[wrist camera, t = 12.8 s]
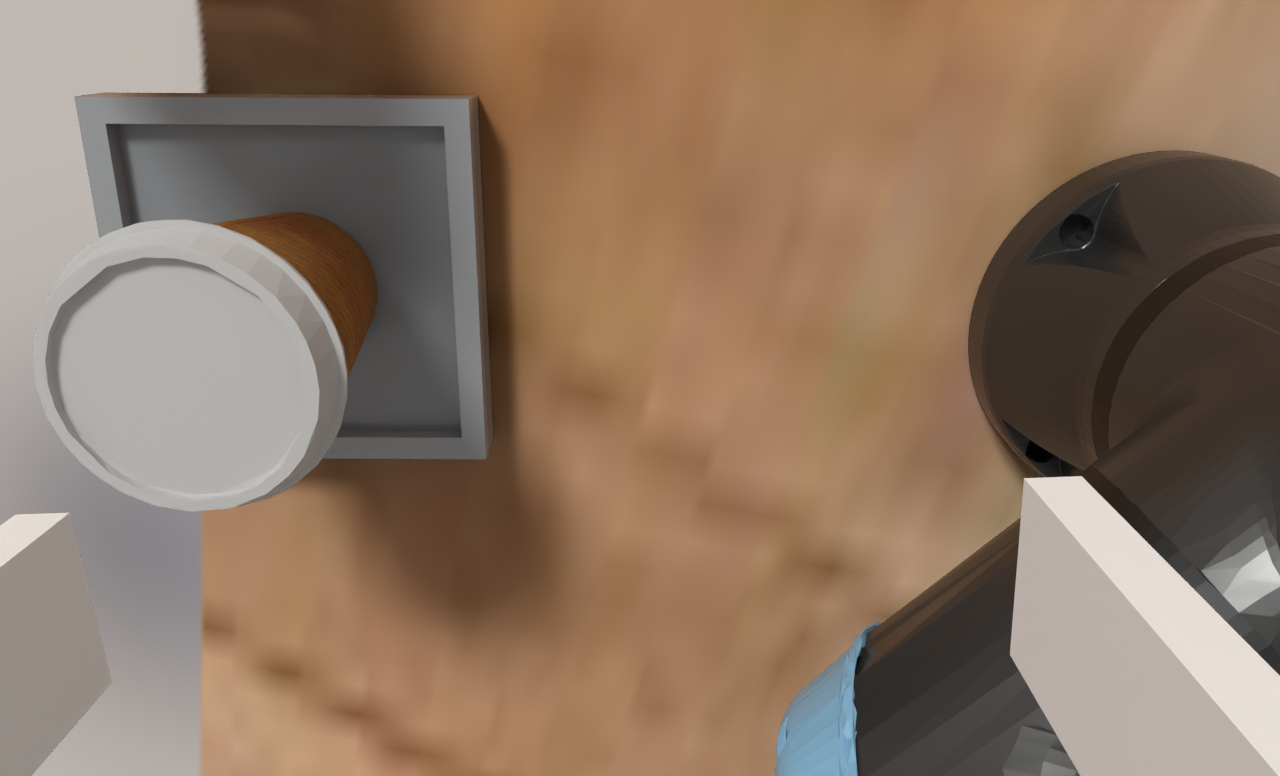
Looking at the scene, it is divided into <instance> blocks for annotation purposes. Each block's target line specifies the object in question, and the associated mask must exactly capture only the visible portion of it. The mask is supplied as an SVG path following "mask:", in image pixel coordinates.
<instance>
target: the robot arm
mask: <svg viewBox="0 0 1280 776" xmlns="http://www.w3.org/2000/svg"><path fill="white" fill-rule="evenodd" d="M968 354H969V365H970V372H971V377H972V381H973V385H974V388H975V391H976V394H977V397H978V400H979V402H980V404H981V407H982V409H983V411H984V412H985V414H986V416H987V418H988V419H989V421H990V423H991V424H992V426H993V427H994V428H995V430H996V431H997V432H998V433H999V435H1000V436H1001V437H1002V438H1003V439H1004V440H1005V442H1006V443H1007V444H1008V445H1009V446H1010V447H1011V448H1012V449H1013V451H1014V452H1015V453H1016V454H1017V455H1018V456H1019V457H1020V458H1021V459H1022V460H1023V461H1024V462H1025V463H1026V464H1027V465H1028V466H1030V467H1031V468H1032V469H1033V470H1035V471H1036V472H1037V473H1038V474H1040V475H1041V476H1043V477H1044V478H1024V486H1023V498H1022V510H1021V518H1019V519H1018V520H1017V521H1016V522H1014V523H1013V524H1012V525H1010V526H1009V527H1008V528H1006V529H1005V530H1004V531H1002V532H1001V533H1000V534H998V535H997V536H996V537H995V538H993V539H992V540H991V541H989V542H988V543H987V544H985V545H984V546H983V547H981V548H980V549H979V550H978V551H976V552H975V553H974V554H972V555H971V556H970V557H968V558H967V559H966V560H964V561H963V562H962V563H961V564H959V565H958V566H957V567H955V568H954V569H953V570H951V571H950V572H949V573H947V574H946V575H945V576H944V577H942V578H941V579H940V580H938V581H937V582H936V583H934V584H933V585H932V586H930V587H929V588H928V589H926V590H925V591H924V592H923V593H921V594H920V595H919V596H917V597H916V598H915V599H913V600H912V601H911V602H909V603H908V604H907V605H906V606H904V607H903V608H902V609H900V610H899V611H898V612H896V613H895V614H894V615H892V616H891V617H890V618H888V619H887V620H886V621H884V622H883V623H879V622H875V623H874V624H872V625H870V626H868V627H867V628H865V629H864V630H863V631H862V632H861V633H860V634H858V635H857V637H856V639H855V640H854V642H853V644H852V645H851V647H850V649H848V650H847V651H846V652H845V653H844V654H843V655H842V656H840V657H839V658H838V659H837V660H836V661H835V662H834V663H832V664H831V665H830V666H829V667H828V668H827V669H825V670H824V671H823V672H822V673H821V674H820V675H819V676H817V677H816V678H815V679H814V680H813V681H812V682H811V683H809V684H808V685H807V686H806V687H805V688H803V689H802V690H801V691H800V692H799V693H798V694H797V696H796V697H795V698H794V699H793V701H792V702H791V703H790V705H789V707H788V708H787V710H786V712H785V714H784V717H783V719H782V722H781V725H780V729H779V734H778V740H777V745H776V753H777V762H776V767H775V776H1280V177H1278V176H1276V175H1274V174H1272V173H1270V172H1268V171H1266V170H1264V169H1262V168H1259V167H1256V166H1254V165H1251V164H1248V163H1244V162H1241V161H1237V160H1232V159H1228V158H1224V157H1219V156H1215V155H1210V154H1205V153H1200V152H1192V151H1176V150H1174V151H1156V152H1147V153H1141V154H1136V155H1131V156H1127V157H1123V158H1120V159H1117V160H1114V161H1110V162H1107V163H1105V164H1102V165H1100V166H1097V167H1095V168H1093V169H1090V170H1088V171H1086V172H1084V173H1082V174H1080V175H1078V176H1077V177H1075V178H1073V179H1071V180H1070V181H1068V182H1066V183H1065V184H1063V185H1062V186H1060V187H1059V188H1057V189H1056V190H1054V191H1053V192H1052V193H1050V194H1049V195H1048V196H1046V197H1045V198H1044V199H1043V200H1041V201H1040V202H1039V203H1038V204H1037V205H1036V206H1035V207H1033V208H1032V209H1031V210H1030V211H1029V212H1028V213H1027V214H1026V215H1025V216H1024V217H1023V218H1022V219H1021V220H1020V222H1019V223H1018V224H1017V225H1016V226H1015V227H1014V228H1013V230H1012V231H1011V232H1010V234H1009V235H1008V236H1007V237H1006V239H1005V240H1004V241H1003V243H1002V244H1001V246H1000V247H999V249H998V250H997V252H996V254H995V255H994V257H993V259H992V261H991V262H990V264H989V266H988V268H987V270H986V272H985V274H984V276H983V279H982V281H981V284H980V286H979V289H978V292H977V295H976V298H975V301H974V306H973V310H972V314H971V320H970V326H969V338H968ZM111 682H112V680H111V676H110V672H109V668H108V664H107V660H106V656H105V652H104V648H103V644H102V640H101V636H100V632H99V628H98V624H97V620H96V616H95V612H94V608H93V604H92V600H91V596H90V592H89V588H88V584H87V580H86V576H85V572H84V569H83V564H82V560H81V556H80V553H79V549H78V544H77V540H76V536H75V532H74V529H73V525H72V521H71V517H70V513H51V514H23V515H15V516H13V517H12V518H10V519H9V520H8V521H6V522H5V523H4V524H2V525H1V526H0V776H32V774H33V773H34V772H35V771H36V770H37V769H38V767H39V766H40V765H41V764H42V763H43V762H44V761H45V759H46V758H47V757H48V756H49V755H50V753H51V752H52V751H53V750H54V749H55V748H56V747H57V745H58V744H59V743H60V742H61V741H62V740H63V739H64V737H65V736H66V735H67V734H68V733H69V732H70V730H71V729H72V728H73V727H74V726H75V725H76V723H77V722H78V721H79V720H80V719H81V718H82V716H83V715H84V714H85V713H86V712H87V711H88V710H89V708H90V707H91V706H92V705H93V704H94V703H95V701H96V700H97V699H98V698H99V697H100V696H101V694H102V693H103V692H104V691H105V690H106V689H107V688H108V686H109V685H110V684H111Z"/></svg>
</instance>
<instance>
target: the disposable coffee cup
mask: <svg viewBox="0 0 1280 776" xmlns="http://www.w3.org/2000/svg"><path fill="white" fill-rule="evenodd" d="M377 296H378V287H377V282H376V277H375V272H374V270H373V268H372V265H371V263H370V260H369V258H368V257H367V255H366V253H365V252H364V250H363V249H362V247H361V246H360V245H359V243H358V242H357V241H356V240H355V239H354V238H353V237H352V236H351V235H350V234H349V233H348V232H346V231H345V230H343V229H342V228H340V227H339V226H338V225H336V224H335V223H333V222H331V221H329V220H327V219H325V218H323V217H320V216H316V215H313V214H309V213H300V212H283V213H276V214H271V215H265V216H258V217H252V218H246V219H238V220H232V221H225V222H219V223H212V224H208V223H203V222H197V221H192V220H186V219H183V220H158V221H147V222H141V223H136V224H133V225H130V226H127V227H124V228H122V229H119V230H116V231H113V232H110V233H108V234H106V235H105V236H103V237H101V238H99V239H98V240H96V241H94V242H92V243H91V244H89V245H88V246H87V247H86V248H85V249H84V250H82V251H81V252H80V253H79V254H78V255H76V256H75V257H74V258H73V259H72V260H71V261H70V262H69V264H68V265H67V266H66V267H65V269H64V270H63V272H62V273H61V274H60V275H59V277H58V278H57V280H56V282H55V284H54V286H53V288H52V290H51V291H50V294H49V295H48V299H47V302H46V305H45V308H44V311H43V313H42V316H41V318H40V321H39V323H38V326H37V329H36V336H35V343H34V369H33V370H34V376H35V381H36V386H37V391H38V394H39V397H40V400H41V402H42V405H43V408H44V411H45V413H46V416H47V418H48V420H49V421H50V423H51V424H52V426H53V427H54V429H55V431H56V432H57V433H58V435H59V437H60V438H61V440H62V441H63V443H64V444H65V446H66V447H67V448H68V449H69V450H70V451H71V452H72V453H73V455H74V456H75V457H76V458H77V459H78V460H79V461H80V462H81V463H82V464H83V465H84V466H85V467H86V468H88V469H89V470H90V471H91V472H92V473H93V474H95V475H96V476H97V477H99V478H100V479H102V480H103V481H105V482H106V483H108V484H110V485H111V486H113V487H114V488H116V489H117V490H119V491H121V492H122V493H124V494H127V495H130V496H132V497H135V498H137V499H140V500H142V501H145V502H147V503H150V504H152V505H155V506H161V507H167V508H173V509H179V510H185V511H191V512H194V511H205V510H216V509H227V508H233V507H235V506H242V505H246V504H250V503H253V502H257V501H261V500H264V499H268V498H271V497H273V496H274V495H276V494H278V493H280V492H282V491H284V490H286V489H288V488H290V487H292V486H294V485H296V484H297V483H298V482H299V481H300V480H301V479H302V478H303V477H305V476H306V475H307V474H308V473H309V472H310V471H311V470H312V469H314V468H315V467H316V466H317V465H318V464H319V462H320V461H321V459H322V458H323V457H324V455H325V454H326V452H327V451H328V449H329V448H330V447H331V445H332V444H333V442H334V440H335V438H336V436H337V434H338V431H339V429H340V427H341V423H342V419H343V415H344V410H345V405H346V401H347V390H348V377H349V374H350V372H351V370H352V367H353V365H354V363H355V360H356V358H357V355H358V353H359V351H360V348H361V346H362V343H363V341H364V339H365V336H366V333H367V331H368V329H369V326H370V324H371V322H372V320H373V318H374V315H375V310H376V305H377Z"/></svg>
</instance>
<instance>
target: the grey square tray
mask: <svg viewBox="0 0 1280 776" xmlns="http://www.w3.org/2000/svg"><path fill="white" fill-rule="evenodd" d="M75 102H76V107H77V113H78V118H79V124H80V130H81V136H82V141H83V147H84V153H85V159H86V164H87V170H88V176H89V181H90V187H91V193H92V198H93V204H94V209H95V215H96V221H97V226H98V232H99V238H101V237H103V236H105V235H106V234H108V233H110V232H113V231H116V230H119V229H122V228H124V227H127V226H130V225H133V224H136V223H141V222H147V221H158V220H183V219H186V220H192V221H197V222H203V223H208V224H212V223H219V222H225V221H232V220H238V219H246V218H252V217H258V216H265V215H271V214H276V213H283V212H300V213H309V214H313V215H316V216H320V217H323V218H325V219H327V220H329V221H331V222H333V223H335V224H336V225H338V226H339V227H340V228H342V229H343V230H345V231H346V232H348V233H349V234H350V235H351V236H352V237H353V238H354V239H355V240H356V241H357V242H358V243H359V245H360V246H361V247H362V249H363V250H364V252H365V253H366V255H367V257H368V258H369V260H370V263H371V265H372V268H373V270H374V272H375V277H376V282H377V287H378V296H377V305H376V310H375V315H374V318H373V320H372V322H371V324H370V326H369V329H368V331H367V333H366V336H365V339H364V341H363V343H362V346H361V348H360V351H359V353H358V355H357V358H356V360H355V363H354V365H353V367H352V370H351V372H350V374H349V377H348V390H347V401H346V405H345V410H344V415H343V419H342V423H341V427H340V429H339V431H338V434H337V436H336V438H335V440H334V442H333V444H332V445H331V447H330V448H329V449H328V451H327V452H326V454H325V455H324V457H323V458H322V459H486V458H487V455H488V453H489V450H490V447H491V444H492V441H493V422H492V400H491V378H490V357H489V335H488V313H487V291H486V269H485V247H484V225H483V203H482V181H481V159H480V137H479V115H478V95H350V94H218V93H98V94H90V95H82V96H75Z"/></svg>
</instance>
